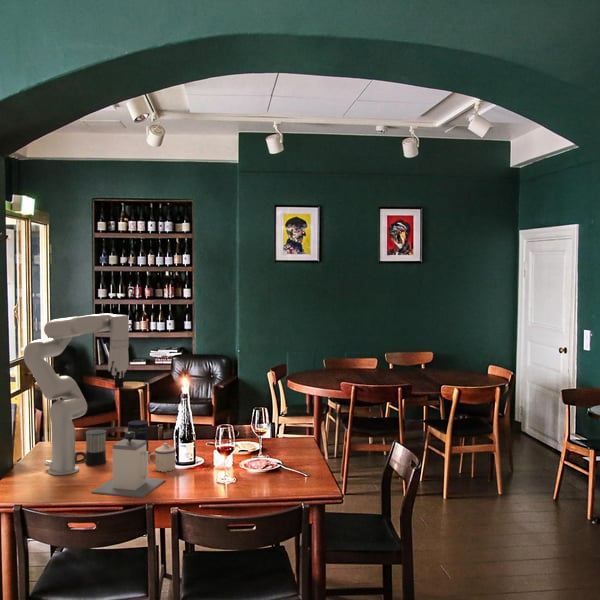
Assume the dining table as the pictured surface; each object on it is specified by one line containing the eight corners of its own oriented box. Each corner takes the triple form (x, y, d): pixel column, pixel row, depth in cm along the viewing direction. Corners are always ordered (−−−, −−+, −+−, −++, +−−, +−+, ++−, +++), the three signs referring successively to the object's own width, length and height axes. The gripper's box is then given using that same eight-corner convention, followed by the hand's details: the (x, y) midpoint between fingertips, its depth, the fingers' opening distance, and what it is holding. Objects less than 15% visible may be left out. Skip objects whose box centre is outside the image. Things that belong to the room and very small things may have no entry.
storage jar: (141, 456, 313) (141, 425, 312) (123, 454, 316) (123, 423, 315) (152, 451, 322) (152, 421, 322) (134, 449, 325) (135, 419, 325)
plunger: (122, 478, 266) (123, 433, 266) (127, 475, 270) (127, 431, 270) (131, 479, 266) (132, 434, 265) (136, 476, 270) (136, 431, 269)
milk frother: (107, 465, 297) (107, 433, 297) (70, 468, 292) (70, 435, 291) (104, 457, 310) (104, 426, 310) (69, 460, 305) (69, 428, 304)
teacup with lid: (177, 466, 298) (177, 441, 297) (173, 472, 288) (173, 446, 288) (151, 465, 298) (151, 440, 297) (146, 471, 289) (146, 445, 288)
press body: (112, 488, 264) (112, 444, 264) (123, 480, 274) (124, 438, 273) (141, 490, 262) (142, 447, 261) (152, 483, 272) (152, 440, 271)
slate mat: (91, 493, 260) (91, 491, 260) (117, 476, 281) (117, 475, 281) (142, 497, 255) (142, 496, 255) (165, 480, 277) (165, 479, 277)
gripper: (119, 342, 284) (119, 384, 284) (102, 345, 269) (102, 390, 270) (135, 342, 282) (135, 385, 283) (119, 346, 268) (118, 391, 268)
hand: (119, 387), depth 276 cm, fingers closed
